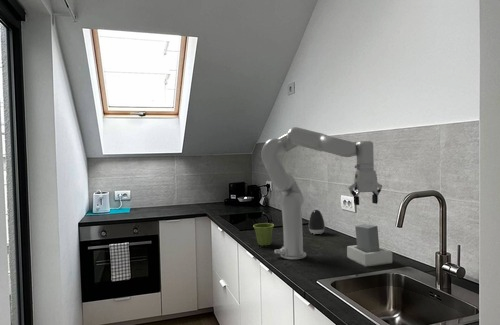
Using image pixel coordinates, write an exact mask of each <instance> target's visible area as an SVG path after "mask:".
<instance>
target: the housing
mask: <svg viewBox="0 0 500 325" xmlns="http://www.w3.org/2000/svg"><path fill="white" fill-rule="evenodd" d="M379 249H380V251H377V252H369V253H366V252H363V251H361V250H359V249H357V244H355V245H348V246H346V258H347V259H349V260H352V261H354V262H355V263H357V264H359V265H361V266H363V267H365V268H368V267H375V266H381V265H388V264H389V265H390V264H393V251H392V250H391V249H387V248H385V247H383V246H381V245H379Z"/></svg>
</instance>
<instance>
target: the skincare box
mask: <svg viewBox="0 0 500 325" xmlns="http://www.w3.org/2000/svg"><path fill="white" fill-rule="evenodd" d="M355 238H356V245H357V249H359V250H361V251H363V252H366V253H369V252H377V251H380V249H379V246H380V241H379V240H380V239H379V230H378V226H377V225H374V224H373V225H371V224H366V223H363V224H359V225H356V226H355Z"/></svg>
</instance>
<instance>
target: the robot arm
mask: <svg viewBox="0 0 500 325" xmlns="http://www.w3.org/2000/svg"><path fill="white" fill-rule="evenodd" d="M298 146H299V147H303V148H307V149H310V150H314V151H318V152H324V153H329V154H331V155H336V156H340V157H344V158H351V157H356V164H355V165H354V169H356V170H355V174H354V181H353V183H352V184H351V185H349V186H348V190H349V193H350V194H351V195H352V196H353V204H354V205H356V206H360V196H359V195H360V193H372V194H371V199H372V200H371V202H372V204H376V205H378V201H379V200H378V198H379V195H380V193H381V191H382V188H383V185H382V184H381V183H378V176H377V175H378V174H377V171H376V170H375V168H374V167H375V166H374V165H375V164H374V160H375V158H374V142H372V141H370V140H360V141H350V140H346V139H341V138H339V137H338V138H337V137H335V136H330V135H327V134H326V133H325V134H324V133H322V132H318V131H313V130H309V129H306V128H301V127H299V126H298V127H297V126H294V127H291V128H290V129H289V130H288V131H287V133H286V134H283V135H282V136H280V137H278V138H277V137H276V138H275V137H273V138H270V139H268V140H266V142H265V143H264V144H263V146H262V149H261V152H260V153H261V154H260V156H261V161H262V164H263V166H264V167H265V170H266V173H267V175H268V177H269V179H270V181H271V182H272V185H273V187H274V189H275V190H276V191H277V192H279V193H281V194H282V196H283V197H282V200H281V203H280V204H281V205H280V207H281V215H282V234H283V235H282V236H283V246H281V248H279V249H274V251H273V252H274V254H279V255H280V257H281V258H283V259H286V260H300V259H304V258H306V257H307V253H306V252H305V251H304V243H303V241H304V239H303V216H302V206H303V205H304V202H305V198H304V195H303V193H302V191H301V189H300V187H299V185H298V183H297V181H296V179H295V178H294V176H293V175H292V174H291V173H288V172H287V171H286V169H285V167H284V165H283V163H282V162H281V160H280V158H279V156H281V155H283V154H286V153H288V152H289V151H291V150H293V149H295V148H297V147H298Z"/></svg>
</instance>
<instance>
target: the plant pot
mask: <svg viewBox="0 0 500 325" xmlns="http://www.w3.org/2000/svg"><path fill="white" fill-rule="evenodd" d="M274 226H275V224H274V223H269V222H264V223H263V222H262V223H255V224H253V226H252V227H253V228H254V231H255V236H256V237H255V238H256V240H257V245H258V244H259V245H270V244H271V245H272V237H273V230H274ZM259 245H258V246H259ZM271 245H270V246H271Z"/></svg>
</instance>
